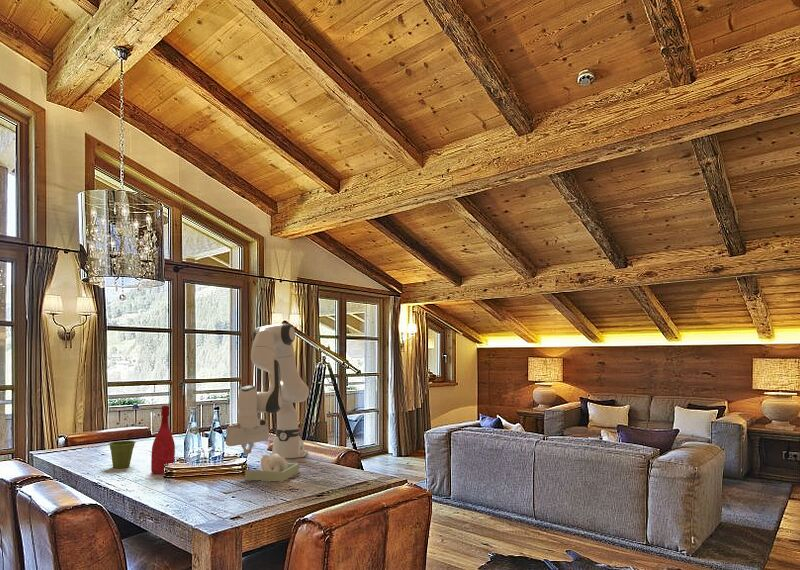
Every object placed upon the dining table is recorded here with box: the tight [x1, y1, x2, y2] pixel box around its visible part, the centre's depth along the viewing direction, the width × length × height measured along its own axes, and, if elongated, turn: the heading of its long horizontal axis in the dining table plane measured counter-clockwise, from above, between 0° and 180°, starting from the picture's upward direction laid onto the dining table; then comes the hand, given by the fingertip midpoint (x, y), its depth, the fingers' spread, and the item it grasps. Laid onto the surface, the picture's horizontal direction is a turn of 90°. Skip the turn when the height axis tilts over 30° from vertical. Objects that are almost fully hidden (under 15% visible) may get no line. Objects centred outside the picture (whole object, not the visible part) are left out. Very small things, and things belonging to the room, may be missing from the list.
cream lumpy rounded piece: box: [260, 454, 288, 472], centre depth 266 cm, size 11×12×9 cm
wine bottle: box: [150, 404, 176, 475], centre depth 272 cm, size 10×10×30 cm
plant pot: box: [108, 440, 137, 469], centre depth 283 cm, size 12×12×11 cm
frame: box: [244, 462, 300, 483], centre depth 265 cm, size 20×17×4 cm
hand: (247, 453), depth 269 cm, fingers closed
